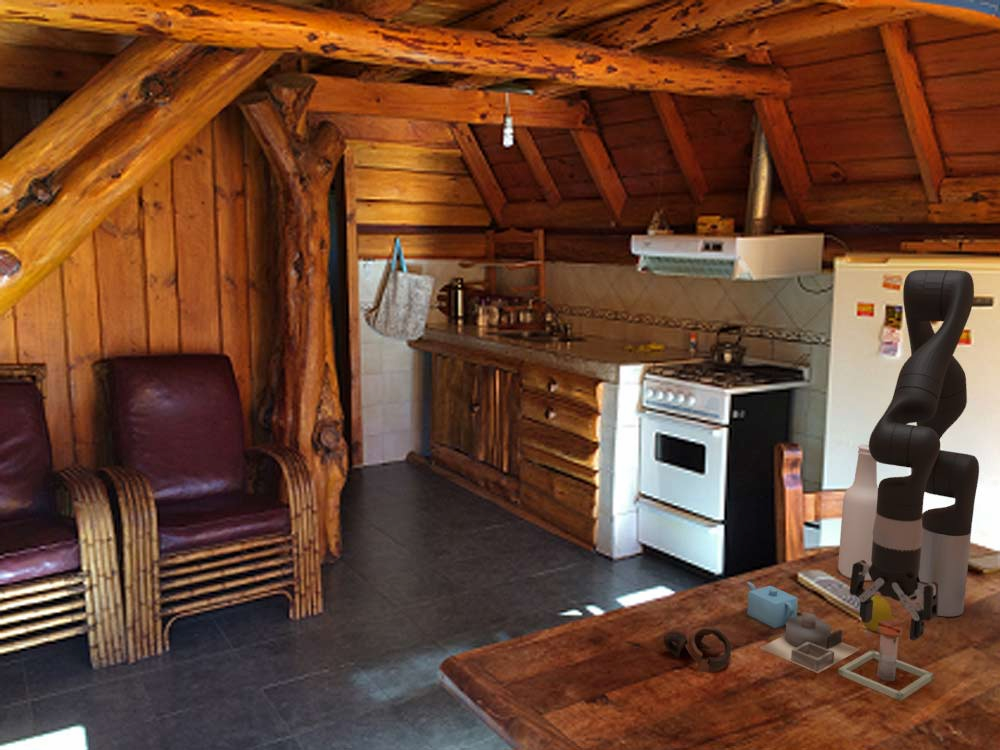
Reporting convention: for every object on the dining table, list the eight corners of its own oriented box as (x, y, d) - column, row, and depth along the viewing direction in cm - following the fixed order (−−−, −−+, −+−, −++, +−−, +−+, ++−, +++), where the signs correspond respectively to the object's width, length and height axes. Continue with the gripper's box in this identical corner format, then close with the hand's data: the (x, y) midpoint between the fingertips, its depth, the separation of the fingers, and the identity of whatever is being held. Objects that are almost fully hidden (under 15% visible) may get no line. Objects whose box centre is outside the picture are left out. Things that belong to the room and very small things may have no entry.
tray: (870, 662, 163) (871, 649, 162) (932, 687, 154) (933, 673, 154) (837, 682, 156) (838, 668, 155) (900, 709, 147) (901, 694, 147)
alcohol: (878, 584, 198) (888, 452, 193) (836, 577, 202) (845, 448, 197) (880, 570, 206) (890, 444, 201) (839, 564, 210) (848, 439, 205)
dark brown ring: (722, 655, 166) (736, 629, 161) (719, 699, 159) (734, 673, 154) (659, 635, 168) (671, 608, 162) (653, 677, 160) (666, 651, 155)
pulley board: (800, 633, 174) (802, 602, 173) (859, 657, 165) (862, 623, 164) (757, 654, 165) (759, 621, 164) (817, 681, 156) (819, 646, 155)
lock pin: (880, 673, 157) (885, 618, 156) (901, 681, 154) (906, 626, 153) (869, 679, 155) (874, 624, 153) (890, 688, 152) (895, 632, 150)
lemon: (893, 642, 171) (896, 602, 169) (862, 639, 172) (865, 600, 170) (886, 629, 176) (890, 591, 175) (857, 627, 177) (860, 588, 176)
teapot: (734, 615, 182) (736, 580, 181) (756, 609, 185) (758, 574, 184) (780, 638, 172) (782, 602, 171) (802, 631, 175) (804, 595, 174)
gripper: (950, 546, 147) (942, 638, 150) (868, 523, 158) (862, 609, 161) (928, 558, 143) (920, 652, 146) (845, 533, 154) (839, 621, 156)
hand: (890, 629), depth 153 cm, fingers open, 8 cm apart
